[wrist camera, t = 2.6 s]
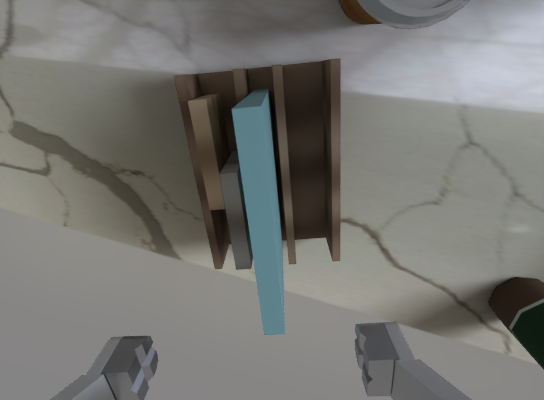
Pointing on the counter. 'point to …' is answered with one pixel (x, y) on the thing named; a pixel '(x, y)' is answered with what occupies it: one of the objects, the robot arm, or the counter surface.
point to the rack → (281, 146)
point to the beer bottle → (522, 312)
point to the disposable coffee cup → (401, 11)
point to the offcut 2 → (236, 212)
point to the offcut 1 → (210, 144)
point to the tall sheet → (262, 203)
